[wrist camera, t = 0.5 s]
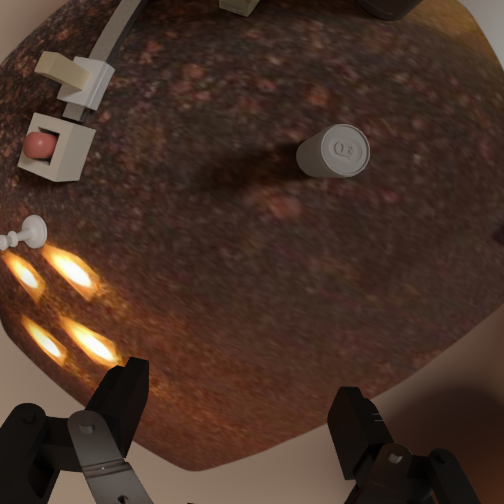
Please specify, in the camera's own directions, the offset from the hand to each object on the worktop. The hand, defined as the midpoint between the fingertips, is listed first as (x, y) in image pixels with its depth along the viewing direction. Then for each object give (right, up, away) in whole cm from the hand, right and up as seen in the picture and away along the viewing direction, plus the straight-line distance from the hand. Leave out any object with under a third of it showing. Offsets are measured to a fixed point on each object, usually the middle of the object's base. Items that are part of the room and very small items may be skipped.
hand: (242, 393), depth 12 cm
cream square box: (-24, +20, +23) cm, 39 cm away
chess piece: (-31, +9, +25) cm, 41 cm away
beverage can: (+8, +17, +25) cm, 31 cm away
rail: (-19, +32, +20) cm, 42 cm away
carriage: (-21, +28, +21) cm, 41 cm away
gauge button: (-24, +19, +19) cm, 36 cm away
